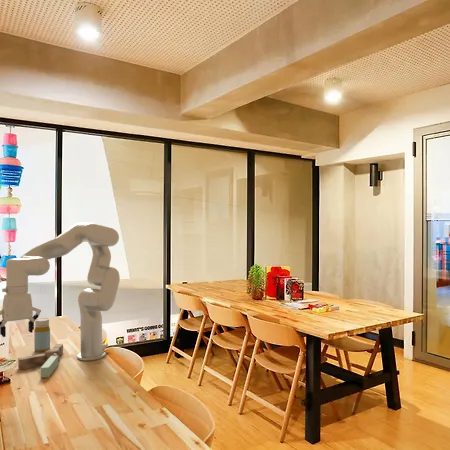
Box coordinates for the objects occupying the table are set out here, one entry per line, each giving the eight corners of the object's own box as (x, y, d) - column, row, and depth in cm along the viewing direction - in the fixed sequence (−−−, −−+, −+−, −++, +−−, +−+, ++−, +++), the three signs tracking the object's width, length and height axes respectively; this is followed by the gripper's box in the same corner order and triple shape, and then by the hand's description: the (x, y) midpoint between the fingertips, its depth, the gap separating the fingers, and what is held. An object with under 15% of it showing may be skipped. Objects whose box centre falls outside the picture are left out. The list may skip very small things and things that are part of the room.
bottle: (45, 347, 207) (45, 317, 207) (52, 349, 202) (52, 319, 202) (31, 350, 202) (31, 319, 201) (38, 353, 197) (38, 322, 197)
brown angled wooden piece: (58, 352, 199) (58, 341, 199) (76, 355, 194) (76, 344, 194) (15, 369, 176) (15, 357, 176) (34, 372, 172) (34, 360, 172)
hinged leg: (51, 364, 181) (51, 353, 181) (58, 363, 181) (58, 353, 181) (40, 377, 165) (40, 366, 165) (48, 377, 166) (48, 365, 166)
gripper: (-6, 293, 152) (-6, 340, 152) (43, 289, 163) (43, 332, 163) (-10, 291, 158) (-10, 336, 158) (37, 286, 169) (37, 328, 169)
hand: (17, 334), depth 160 cm, fingers open, 9 cm apart
